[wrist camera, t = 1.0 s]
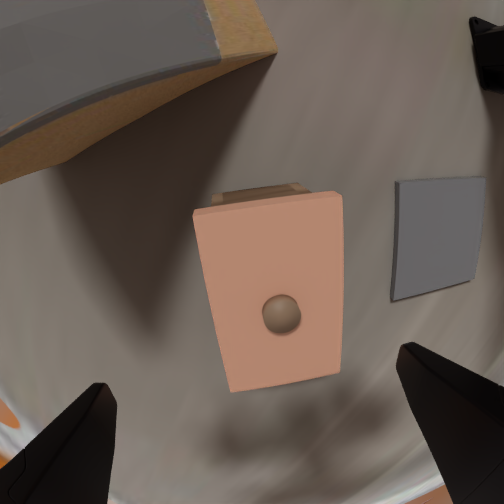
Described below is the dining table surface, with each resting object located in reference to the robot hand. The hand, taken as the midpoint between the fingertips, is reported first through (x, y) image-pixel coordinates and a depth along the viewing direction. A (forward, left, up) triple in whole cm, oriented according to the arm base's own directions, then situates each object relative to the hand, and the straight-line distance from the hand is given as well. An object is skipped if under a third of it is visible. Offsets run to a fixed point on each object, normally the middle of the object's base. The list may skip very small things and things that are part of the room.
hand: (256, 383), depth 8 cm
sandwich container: (+4, -13, -13) cm, 19 cm away
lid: (-2, +2, -8) cm, 8 cm away
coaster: (-16, +2, -12) cm, 20 cm away
